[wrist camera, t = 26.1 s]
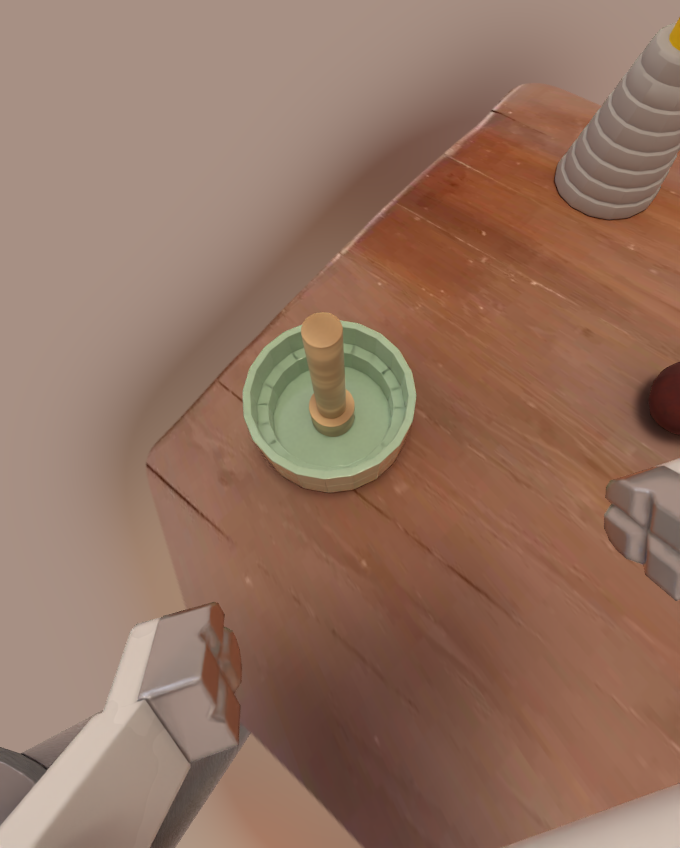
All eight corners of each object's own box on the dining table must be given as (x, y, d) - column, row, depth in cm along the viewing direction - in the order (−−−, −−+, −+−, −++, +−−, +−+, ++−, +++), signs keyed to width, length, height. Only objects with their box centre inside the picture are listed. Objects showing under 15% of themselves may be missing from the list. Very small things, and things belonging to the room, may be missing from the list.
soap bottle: (539, 199, 52) (646, -17, 33) (571, 137, 56) (683, -90, 37) (639, 234, 50) (815, 23, 31) (665, 167, 54) (838, -59, 35)
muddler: (331, 445, 41) (319, 371, 26) (302, 415, 43) (275, 328, 28) (363, 417, 42) (368, 330, 27) (334, 389, 44) (324, 290, 29)
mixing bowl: (327, 526, 39) (322, 517, 33) (228, 416, 44) (208, 390, 37) (438, 422, 43) (451, 396, 37) (336, 329, 47) (334, 292, 41)
